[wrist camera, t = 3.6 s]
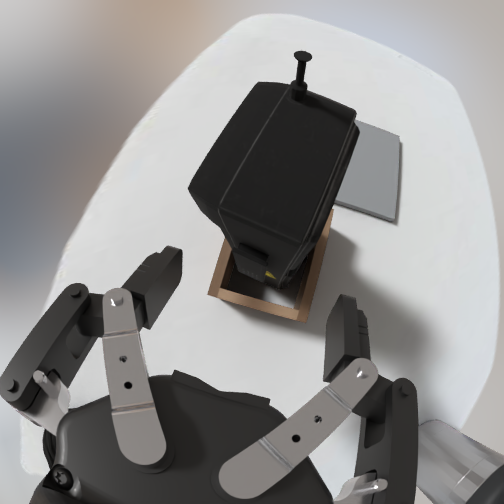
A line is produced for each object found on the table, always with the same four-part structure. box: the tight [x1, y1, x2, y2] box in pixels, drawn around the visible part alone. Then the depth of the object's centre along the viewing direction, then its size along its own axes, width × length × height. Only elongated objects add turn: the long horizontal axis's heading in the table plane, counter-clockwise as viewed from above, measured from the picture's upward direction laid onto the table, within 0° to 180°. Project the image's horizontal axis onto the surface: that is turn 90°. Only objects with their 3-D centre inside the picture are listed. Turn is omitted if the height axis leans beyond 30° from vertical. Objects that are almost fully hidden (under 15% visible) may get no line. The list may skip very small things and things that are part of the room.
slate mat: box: [334, 120, 399, 222], centre depth 34 cm, size 16×14×1 cm
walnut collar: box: [207, 209, 334, 323], centre depth 29 cm, size 10×12×5 cm
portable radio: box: [188, 51, 360, 289], centre depth 20 cm, size 8×6×25 cm
